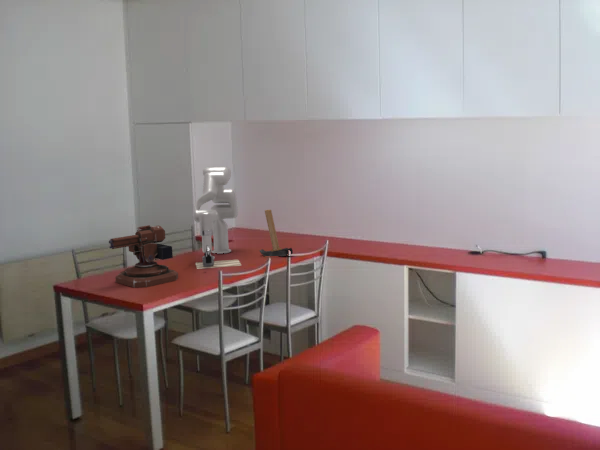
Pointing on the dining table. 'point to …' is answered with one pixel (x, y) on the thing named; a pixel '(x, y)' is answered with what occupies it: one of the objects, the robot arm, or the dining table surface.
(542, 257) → the dining table surface
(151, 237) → the model turret
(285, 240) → the dining table surface
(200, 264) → the board
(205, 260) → the cap
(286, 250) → the hammer
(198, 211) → the robot arm
